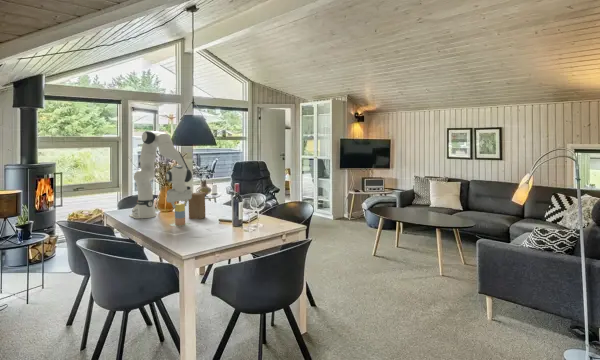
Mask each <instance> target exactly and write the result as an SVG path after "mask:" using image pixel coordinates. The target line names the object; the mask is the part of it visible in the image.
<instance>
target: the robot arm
mask: <svg viewBox="0 0 600 360" xmlns="http://www.w3.org/2000/svg"><path fill="white" fill-rule="evenodd" d="M141 140H142V142H143V143H142V145H141V151H140V157H139V163H140V169H138V170H136V172H135V173H134V174H133V180H134V181H135V184H136V188H137V200H136V205H135V206H134V207H132V210H131V211H132V212H131V214H129V215H128V216H129V217H130V218H134V219H150V218H155V217H156V216H157V212H156V206H155V204H154V203H155V200H154V194H153V193H154V192H153V191H154V190H153V187H152V185H151V181H153V180H154V178H155V176H156V174H155V161H156V156H157V155H156V154H157V148H158V152H159V154H160V155H161V156H162V157H164V158H165V159H170V160H174V161H175V162H177V163H178V165H173V166H172V168H171V169H169V170H167V171H166V173H165V180H166V181H167V182H168V183H171V184H172V188H171V189H170V188H169V189H168V190H167V191H166V202H167V203H170V204H171V206H172V208H173V209H175V208H176V205H175V204H176V202H182V201H184V203H183V204H185V207H187V204H188V203H189V202H188V199H191V198H192V193H193V192H192V187H191V186H190V185H186V183H189V182H190V181H191V180H192V179H193V178H192V177H193V173H192V171H191V170H190V168H189V167H188V165H187V163H186V161H185V159H184V157H183V154H182V153H181V152H180V151H179V150H178V149H176V147H175V145H174V142H173V140H172V138H171V135H170V134H168V133H166V132H161V131H156V130H155V131H154V130H144V131H143V133H142V135H141Z"/></svg>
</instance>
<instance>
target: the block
mask: <svg viewBox="0 0 600 360" xmlns="http://www.w3.org/2000/svg"><path fill="white" fill-rule="evenodd" d="M187 203H188V219H190V220H191V219H192V220H194V219H196V220H202V219H204V218H206V194H205V192H192V198H191V199H188V202H187Z"/></svg>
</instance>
